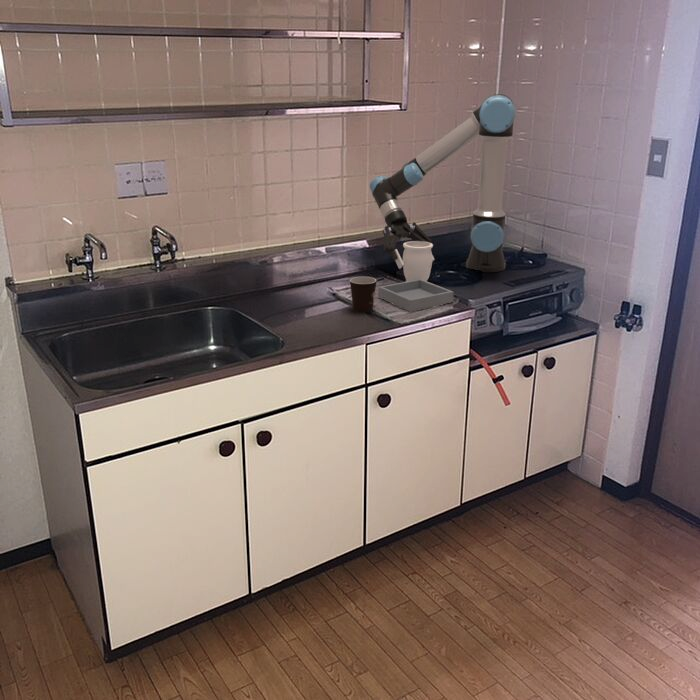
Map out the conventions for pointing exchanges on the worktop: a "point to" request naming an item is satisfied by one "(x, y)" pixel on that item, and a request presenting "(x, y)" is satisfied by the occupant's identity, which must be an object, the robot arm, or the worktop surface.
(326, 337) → the worktop surface
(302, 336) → the worktop surface
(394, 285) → the tray
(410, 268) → the jar
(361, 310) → the coffee mug
